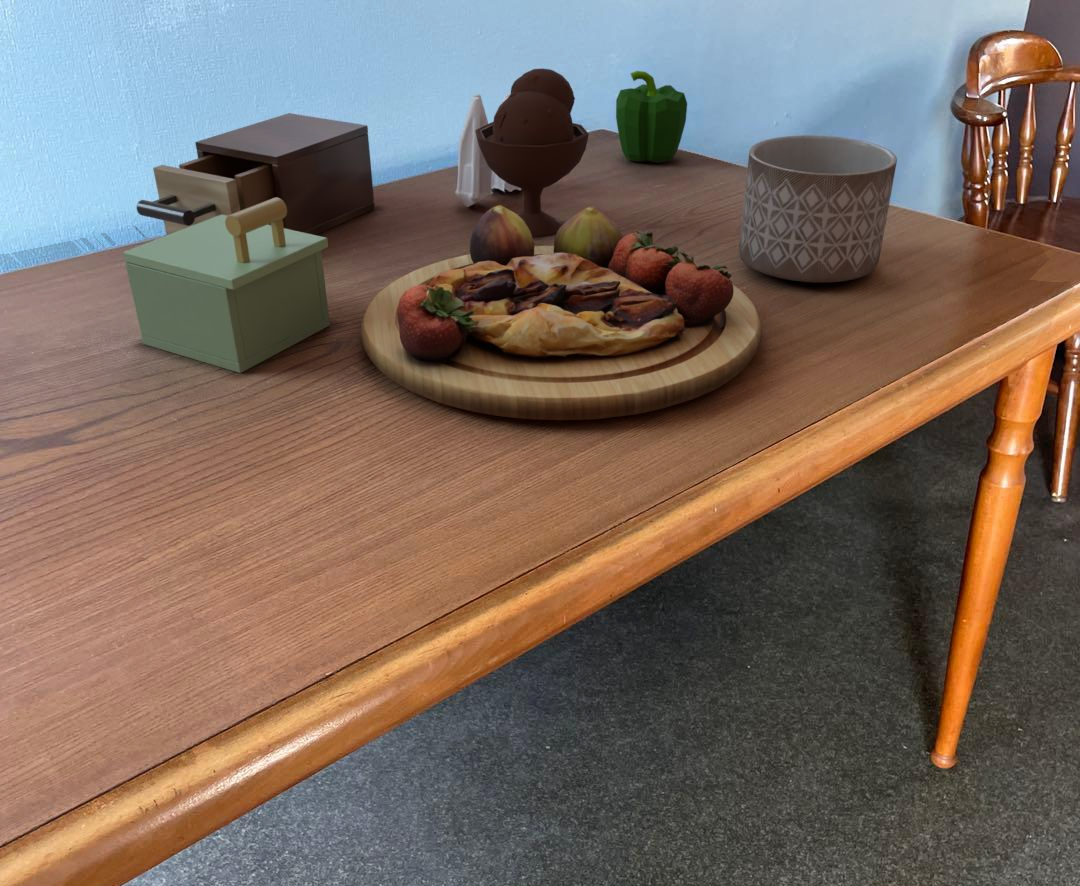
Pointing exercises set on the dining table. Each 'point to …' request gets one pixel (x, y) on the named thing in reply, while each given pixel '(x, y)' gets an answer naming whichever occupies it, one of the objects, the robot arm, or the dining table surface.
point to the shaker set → (475, 159)
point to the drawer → (207, 190)
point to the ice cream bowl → (534, 141)
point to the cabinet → (307, 166)
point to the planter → (816, 207)
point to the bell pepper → (650, 120)
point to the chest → (230, 313)
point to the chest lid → (230, 247)
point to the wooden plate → (561, 324)
